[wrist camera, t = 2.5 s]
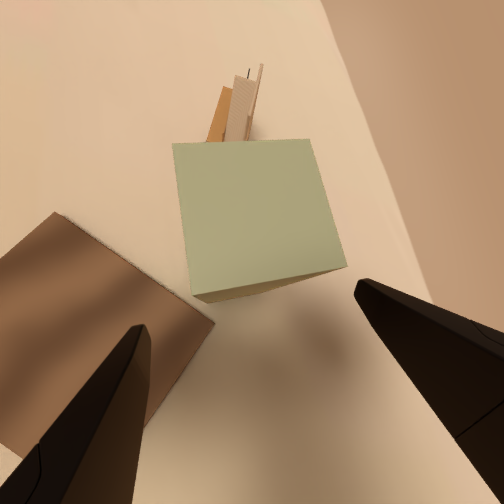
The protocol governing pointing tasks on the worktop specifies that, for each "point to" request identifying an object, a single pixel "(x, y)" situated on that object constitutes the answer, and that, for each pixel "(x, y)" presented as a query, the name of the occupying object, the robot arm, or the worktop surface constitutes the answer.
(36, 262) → the walnut board
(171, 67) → the worktop surface
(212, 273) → the sage block
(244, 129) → the architectural model
